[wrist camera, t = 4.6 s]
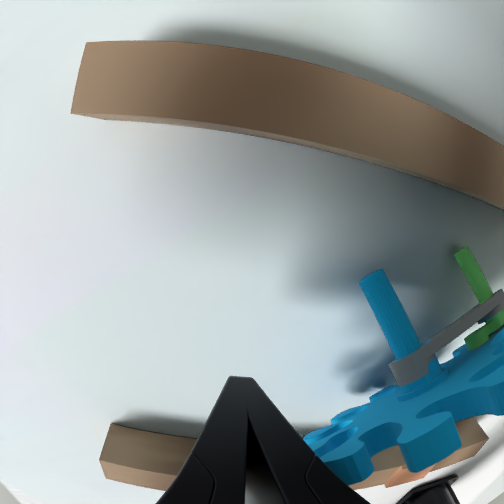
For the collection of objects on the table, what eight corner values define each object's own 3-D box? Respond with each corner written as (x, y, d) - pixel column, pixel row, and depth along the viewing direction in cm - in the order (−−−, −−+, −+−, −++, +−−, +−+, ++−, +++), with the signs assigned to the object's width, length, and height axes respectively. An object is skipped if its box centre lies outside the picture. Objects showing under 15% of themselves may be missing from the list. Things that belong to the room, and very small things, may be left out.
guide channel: (564, 205, 11) (595, 217, 8) (459, 435, 17) (475, 459, 14) (116, 62, 8) (81, 37, 5) (115, 444, 14) (104, 483, 11)
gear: (294, 460, 12) (340, 560, 3) (248, 351, 15) (217, 274, 6) (471, 358, 13) (609, 298, 4) (428, 269, 16) (532, 154, 7)
